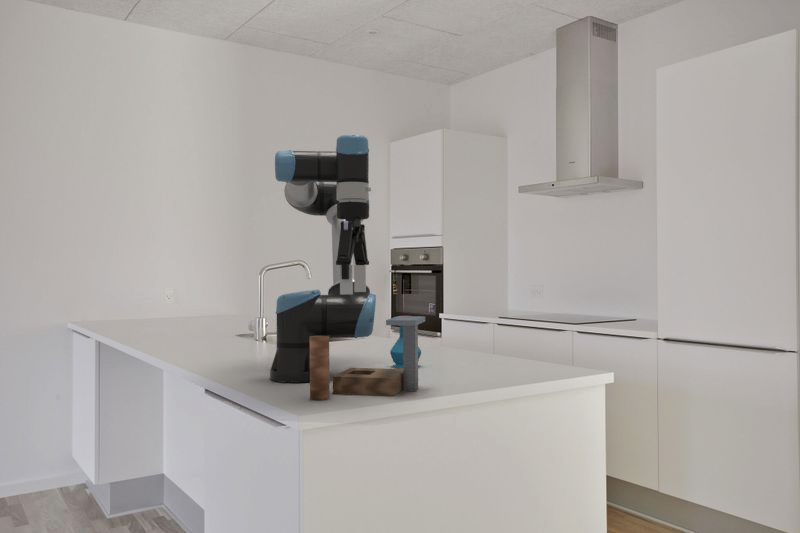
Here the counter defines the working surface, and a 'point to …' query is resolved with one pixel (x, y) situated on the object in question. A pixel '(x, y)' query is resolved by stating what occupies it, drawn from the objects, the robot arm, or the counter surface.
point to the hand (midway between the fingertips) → (353, 293)
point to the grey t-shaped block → (409, 349)
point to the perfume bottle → (400, 351)
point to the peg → (319, 368)
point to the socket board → (369, 381)
